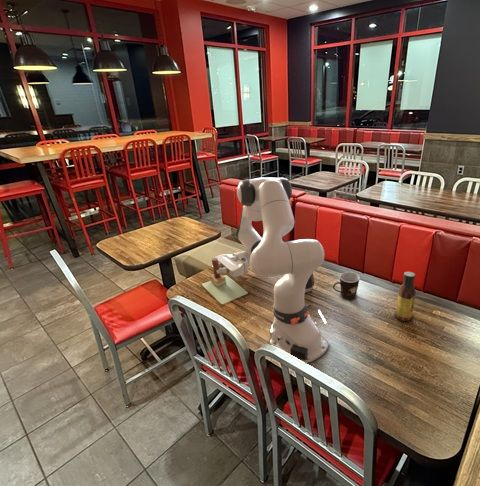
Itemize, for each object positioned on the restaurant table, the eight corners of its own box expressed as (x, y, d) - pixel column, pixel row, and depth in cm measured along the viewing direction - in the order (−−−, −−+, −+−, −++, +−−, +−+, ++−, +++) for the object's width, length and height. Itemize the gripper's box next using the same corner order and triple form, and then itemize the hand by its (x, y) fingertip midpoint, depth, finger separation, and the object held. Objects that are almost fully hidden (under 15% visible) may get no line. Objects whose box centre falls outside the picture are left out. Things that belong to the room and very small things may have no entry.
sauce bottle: (413, 322, 122) (420, 279, 114) (396, 321, 124) (402, 278, 115) (410, 312, 128) (417, 270, 120) (394, 311, 129) (400, 269, 121)
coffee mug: (356, 290, 144) (358, 272, 140) (359, 301, 136) (361, 282, 132) (331, 290, 145) (332, 271, 141) (332, 301, 137) (333, 282, 133)
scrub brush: (226, 283, 154) (222, 259, 148) (217, 287, 151) (213, 263, 145) (219, 277, 159) (215, 254, 153) (210, 281, 156) (206, 258, 150)
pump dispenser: (315, 295, 142) (315, 266, 135) (292, 296, 142) (292, 267, 136) (313, 283, 151) (313, 255, 145) (292, 284, 152) (291, 256, 145)
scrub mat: (248, 294, 146) (248, 293, 145) (221, 305, 138) (221, 304, 138) (226, 275, 162) (226, 274, 162) (201, 285, 155) (201, 284, 154)
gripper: (228, 248, 165) (204, 256, 157) (249, 262, 149) (223, 272, 142) (230, 259, 167) (206, 267, 160) (250, 274, 152) (225, 284, 145)
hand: (214, 270), depth 151 cm, fingers closed on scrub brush, 3 cm apart
